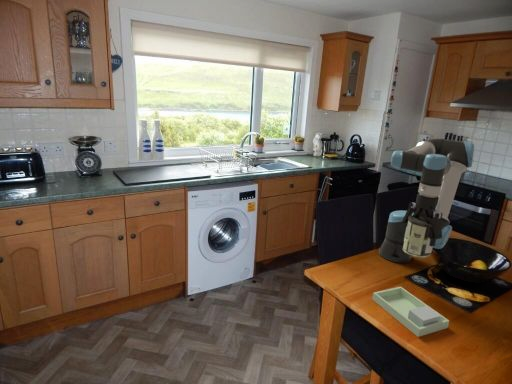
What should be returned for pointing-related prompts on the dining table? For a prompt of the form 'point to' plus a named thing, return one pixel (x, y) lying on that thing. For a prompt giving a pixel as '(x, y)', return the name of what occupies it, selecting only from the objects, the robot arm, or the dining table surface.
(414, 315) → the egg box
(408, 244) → the coffee can
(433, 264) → the dining table surface
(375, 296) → the tray
